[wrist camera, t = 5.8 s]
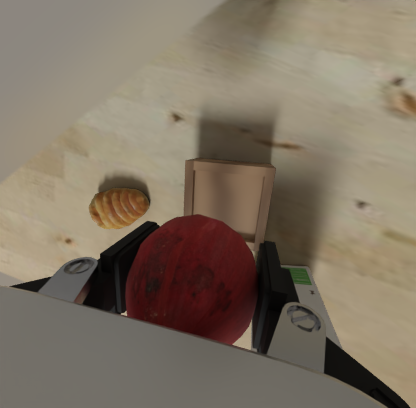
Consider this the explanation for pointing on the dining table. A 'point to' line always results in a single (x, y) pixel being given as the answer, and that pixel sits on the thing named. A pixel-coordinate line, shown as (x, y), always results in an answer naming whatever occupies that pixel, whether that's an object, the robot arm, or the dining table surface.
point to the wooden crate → (231, 194)
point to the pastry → (118, 207)
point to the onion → (194, 279)
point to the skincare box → (309, 298)
